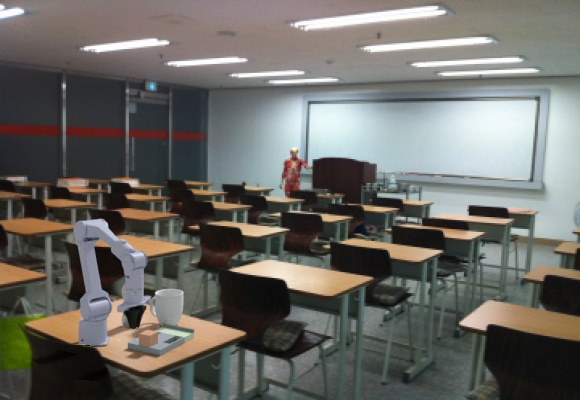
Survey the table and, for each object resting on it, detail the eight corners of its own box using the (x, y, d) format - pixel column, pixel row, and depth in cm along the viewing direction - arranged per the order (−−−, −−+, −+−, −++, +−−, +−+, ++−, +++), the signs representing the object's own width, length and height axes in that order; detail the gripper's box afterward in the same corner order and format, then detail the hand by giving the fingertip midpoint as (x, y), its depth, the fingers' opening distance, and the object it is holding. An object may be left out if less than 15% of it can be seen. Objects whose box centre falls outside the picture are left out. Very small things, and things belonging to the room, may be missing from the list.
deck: (160, 355, 182) (160, 346, 181) (127, 348, 187) (127, 339, 187) (194, 337, 200) (194, 329, 200) (163, 331, 205) (163, 323, 205)
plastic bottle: (141, 323, 214) (141, 274, 212) (134, 329, 207) (135, 278, 205) (125, 322, 214) (125, 273, 212) (118, 328, 208) (118, 277, 206)
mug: (141, 324, 213) (141, 292, 211) (158, 317, 223) (159, 286, 221) (172, 330, 207) (172, 297, 205) (188, 322, 217) (189, 291, 215)
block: (149, 347, 184) (149, 335, 183) (139, 344, 185) (139, 333, 185) (157, 343, 188) (158, 331, 187) (147, 340, 189) (147, 329, 189)
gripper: (129, 294, 170) (129, 336, 171) (158, 284, 183) (158, 323, 184) (111, 291, 173) (112, 332, 174) (141, 282, 186) (141, 320, 187)
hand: (134, 327), depth 179 cm, fingers closed
